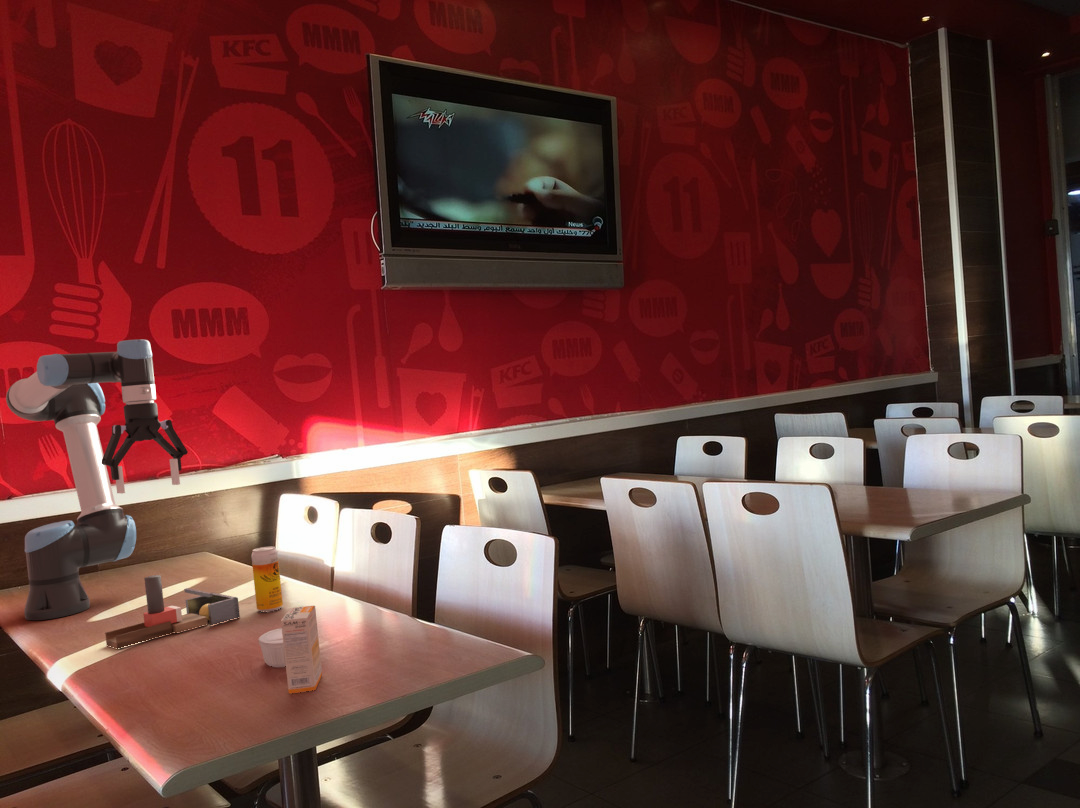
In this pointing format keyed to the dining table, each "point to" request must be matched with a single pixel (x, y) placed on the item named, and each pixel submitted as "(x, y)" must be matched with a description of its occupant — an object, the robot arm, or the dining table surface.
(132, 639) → the rail
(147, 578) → the post on red base
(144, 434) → the robot arm
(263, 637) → the ramekin
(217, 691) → the dining table surface
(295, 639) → the supplement box
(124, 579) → the dining table surface
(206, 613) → the ball
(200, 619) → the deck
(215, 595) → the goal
